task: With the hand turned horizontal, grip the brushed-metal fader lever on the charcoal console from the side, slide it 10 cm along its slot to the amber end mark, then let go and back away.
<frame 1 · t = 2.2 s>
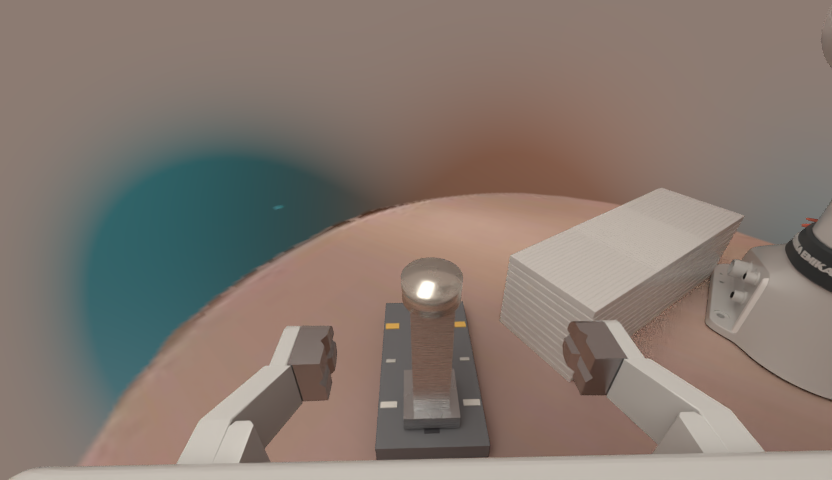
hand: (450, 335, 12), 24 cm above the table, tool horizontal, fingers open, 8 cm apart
stack of papers: (610, 300, 49), on the table
fader lever: (430, 348, 29), point 10 cm above the table, slide at 0.0 cm
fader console: (427, 371, 39), on the table
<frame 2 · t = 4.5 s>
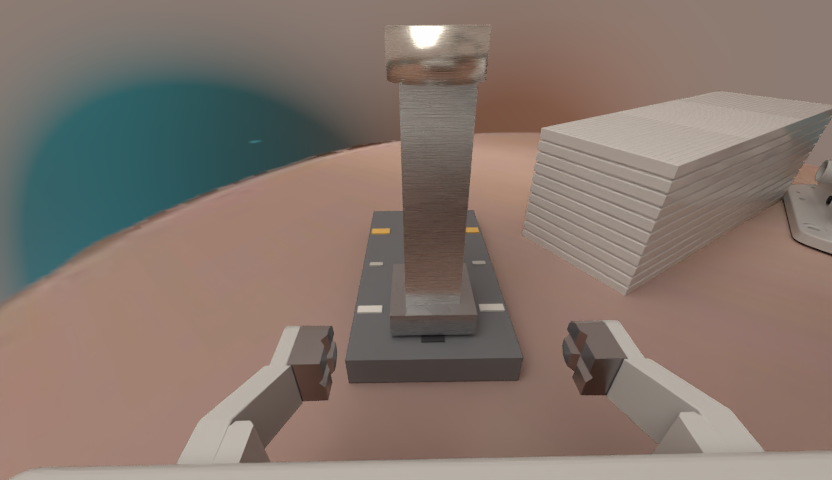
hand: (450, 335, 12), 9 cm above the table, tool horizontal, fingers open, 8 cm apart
stack of papers: (661, 219, 38), on the table
fader lever: (433, 197, 19), point 10 cm above the table, slide at 0.0 cm
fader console: (427, 284, 28), on the table
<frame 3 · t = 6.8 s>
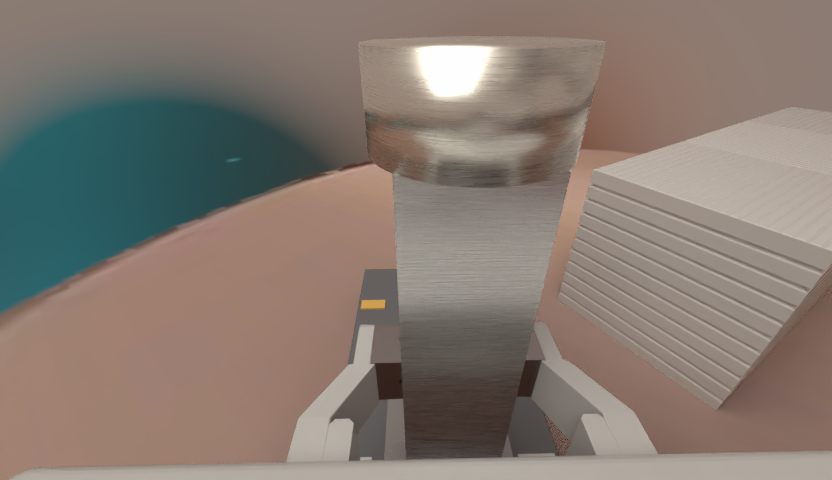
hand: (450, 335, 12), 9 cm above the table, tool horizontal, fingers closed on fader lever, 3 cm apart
stack of papers: (729, 271, 30), on the table
fader lever: (455, 333, 11), point 10 cm above the table, slide at 0.0 cm, touching gripper
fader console: (436, 388, 20), on the table
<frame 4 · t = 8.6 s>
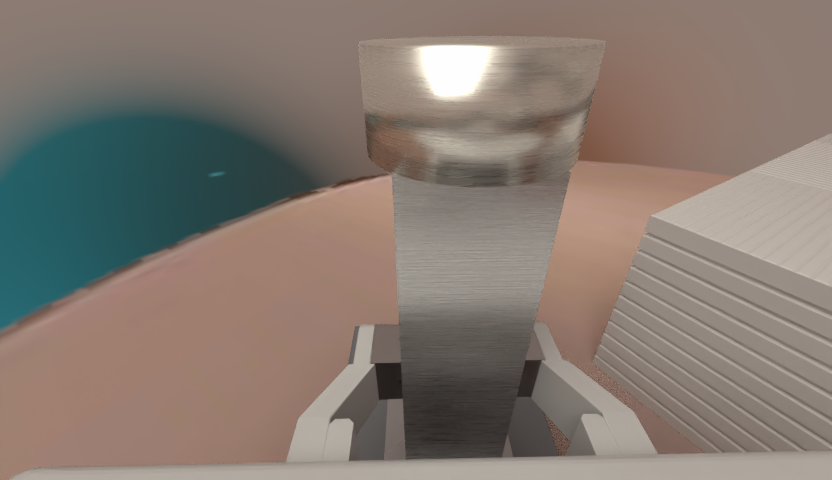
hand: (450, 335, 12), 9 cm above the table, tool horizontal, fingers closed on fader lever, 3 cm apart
stack of papers: (794, 321, 25), on the table
fader lever: (455, 333, 11), point 10 cm above the table, slide at 5.9 cm, touching gripper
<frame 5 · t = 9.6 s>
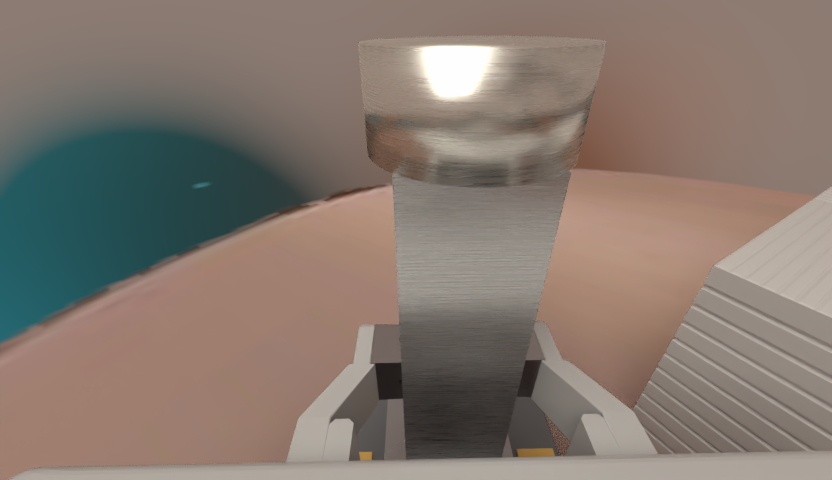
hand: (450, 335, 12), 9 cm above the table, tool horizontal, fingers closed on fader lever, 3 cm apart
fader lever: (455, 333, 11), point 10 cm above the table, slide at 9.9 cm, touching gripper
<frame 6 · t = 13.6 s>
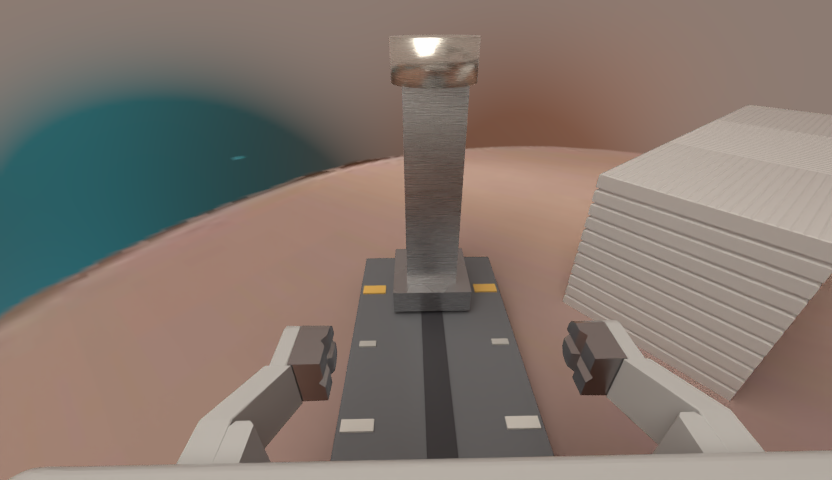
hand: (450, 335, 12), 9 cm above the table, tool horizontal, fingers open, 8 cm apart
stack of papers: (711, 261, 32), on the table
fader lever: (431, 186, 21), point 10 cm above the table, slide at 10.0 cm
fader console: (433, 365, 22), on the table
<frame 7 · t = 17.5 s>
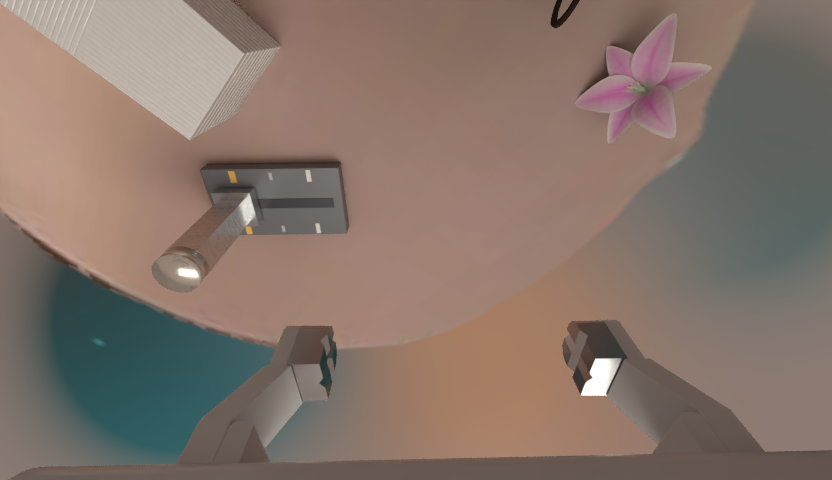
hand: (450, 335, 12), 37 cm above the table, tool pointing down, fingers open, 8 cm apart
lily: (617, 80, 42), on the table
fader lever: (213, 234, 41), point 10 cm above the table, slide at 10.0 cm
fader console: (282, 197, 50), on the table
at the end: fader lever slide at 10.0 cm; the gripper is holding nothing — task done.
